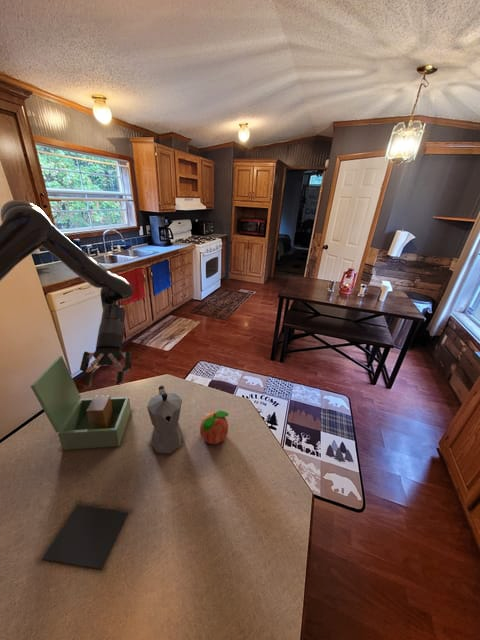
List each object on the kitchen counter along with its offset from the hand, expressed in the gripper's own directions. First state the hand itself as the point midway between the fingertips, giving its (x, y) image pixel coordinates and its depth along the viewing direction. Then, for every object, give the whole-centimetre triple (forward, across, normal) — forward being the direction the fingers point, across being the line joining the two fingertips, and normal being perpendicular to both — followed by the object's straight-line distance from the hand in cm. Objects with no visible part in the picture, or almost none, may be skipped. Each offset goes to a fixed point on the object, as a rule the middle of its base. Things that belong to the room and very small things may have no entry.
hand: (103, 385), depth 78 cm
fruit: (+17, +34, +2) cm, 38 cm away
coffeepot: (+17, +19, +2) cm, 26 cm away
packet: (+12, 0, +5) cm, 13 cm away
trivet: (+33, +6, -15) cm, 37 cm away
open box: (+13, -1, +6) cm, 14 cm away
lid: (+2, -9, -5) cm, 11 cm away
